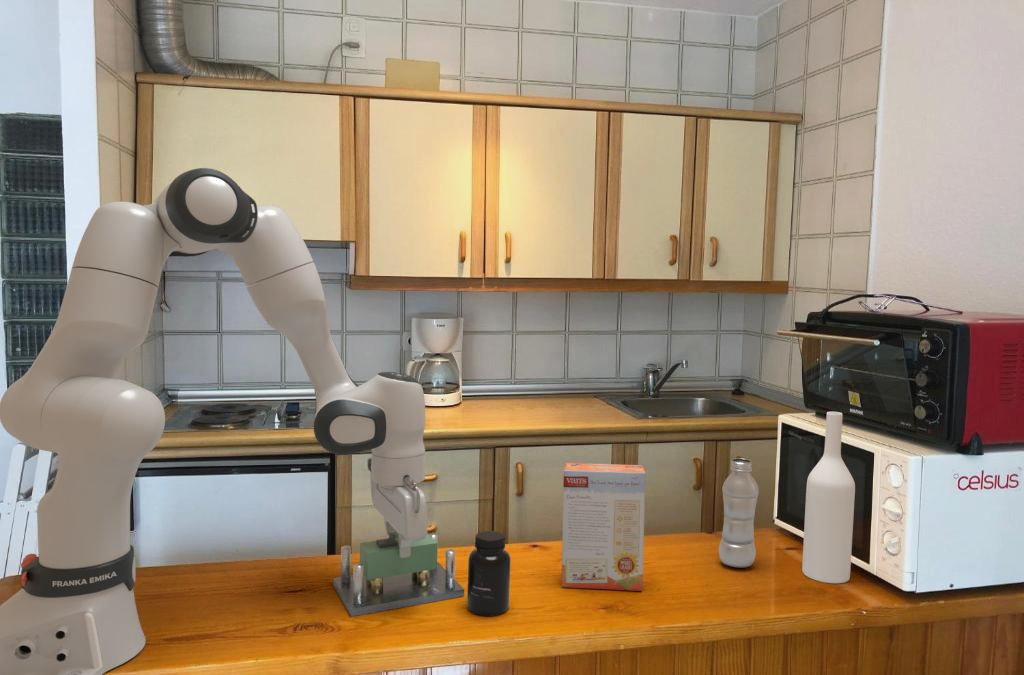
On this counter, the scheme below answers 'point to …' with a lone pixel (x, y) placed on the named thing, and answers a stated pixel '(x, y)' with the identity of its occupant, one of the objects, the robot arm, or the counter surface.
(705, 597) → the counter surface
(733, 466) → the plastic bottle
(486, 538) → the supplement bottle
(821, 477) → the bottle
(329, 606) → the counter surface
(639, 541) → the cracker box
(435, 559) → the green rectangular block
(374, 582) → the chassis
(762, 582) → the counter surface
